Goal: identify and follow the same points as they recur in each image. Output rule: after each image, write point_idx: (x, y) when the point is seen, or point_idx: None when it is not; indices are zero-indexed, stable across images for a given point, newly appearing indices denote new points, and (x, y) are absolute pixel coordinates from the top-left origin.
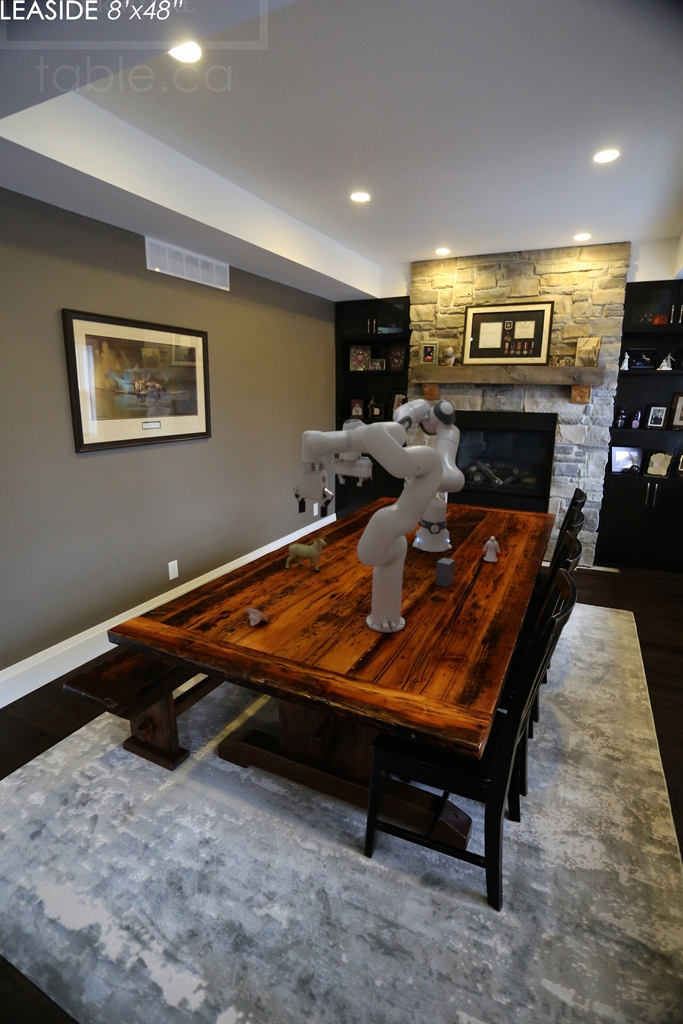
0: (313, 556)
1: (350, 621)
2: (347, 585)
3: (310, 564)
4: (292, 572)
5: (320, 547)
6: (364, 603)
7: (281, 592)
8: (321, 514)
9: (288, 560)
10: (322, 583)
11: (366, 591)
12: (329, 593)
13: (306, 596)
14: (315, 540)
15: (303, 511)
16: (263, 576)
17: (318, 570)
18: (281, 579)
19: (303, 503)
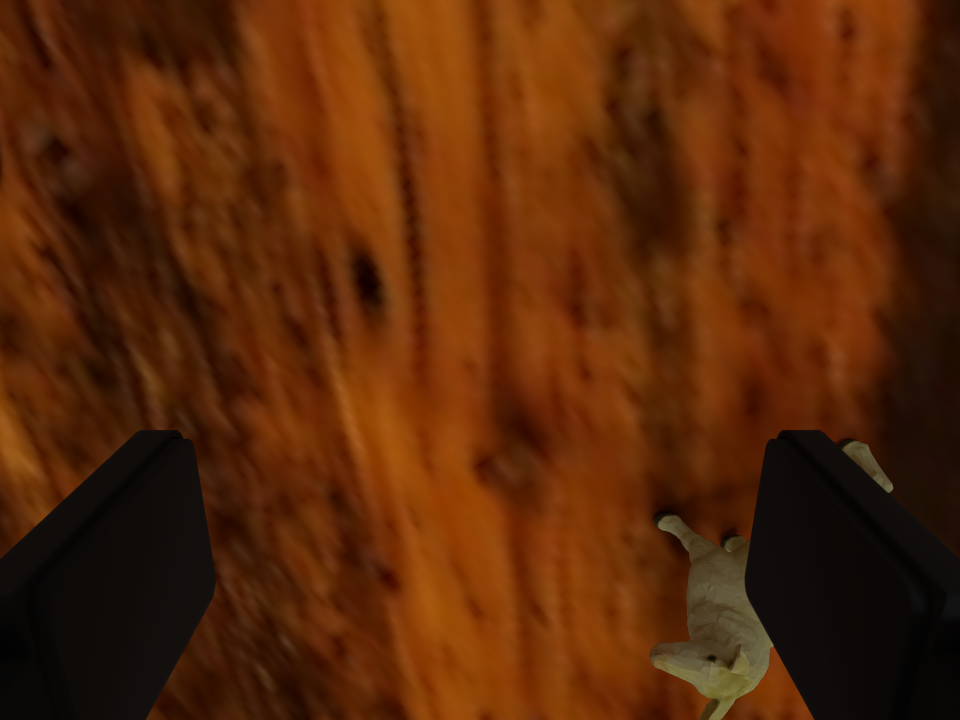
0: (715, 558)
1: (47, 40)
2: (397, 450)
3: (739, 544)
4: (790, 420)
5: (698, 633)
6: (162, 303)
7: (664, 126)
8: (118, 457)
9: (873, 475)
10: (533, 392)
11: (262, 443)
12: (407, 298)
13: (491, 176)
14: (740, 644)
15: (760, 538)
16: (923, 263)
17: (659, 518)
18: (788, 294)
19: (856, 685)
